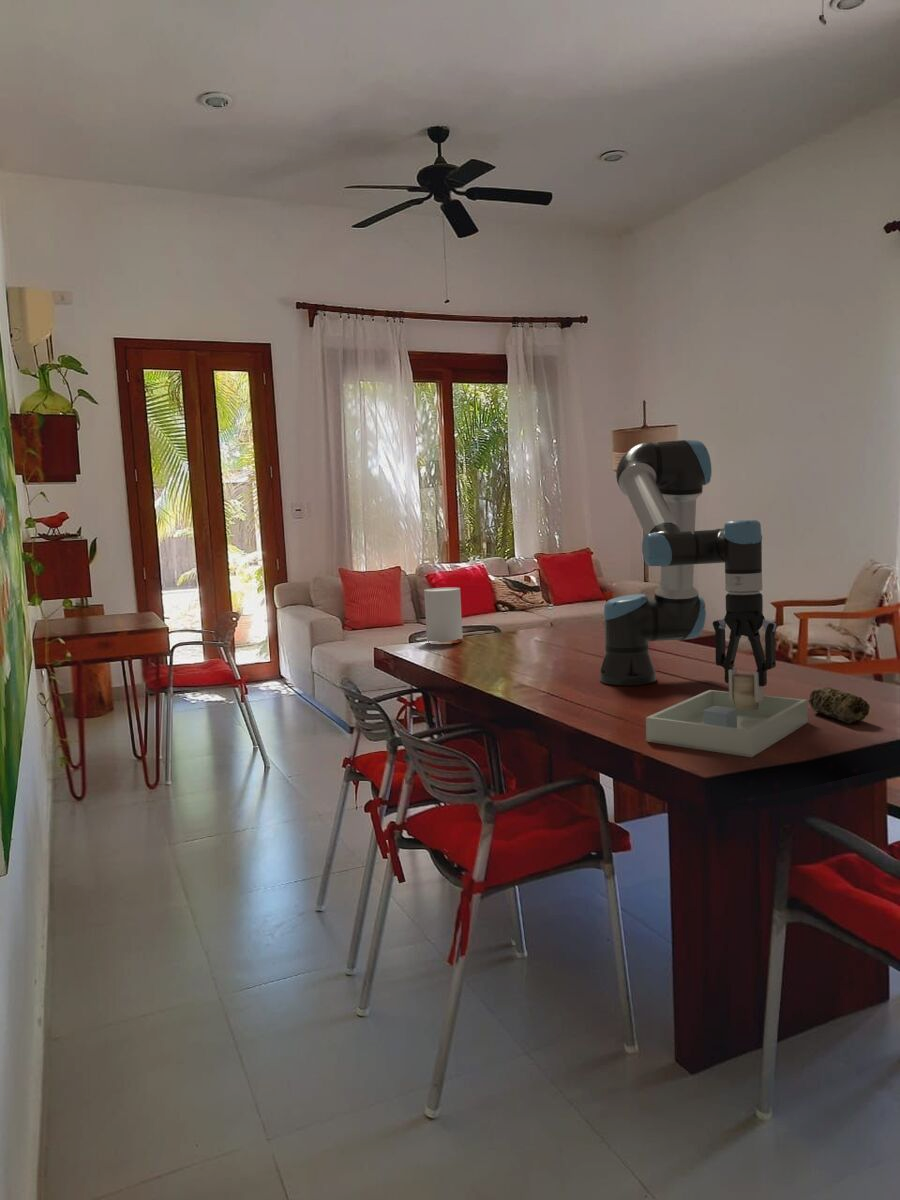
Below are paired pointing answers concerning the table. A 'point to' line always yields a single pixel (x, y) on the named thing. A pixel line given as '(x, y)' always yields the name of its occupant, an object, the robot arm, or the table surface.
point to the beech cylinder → (744, 692)
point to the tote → (746, 740)
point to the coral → (839, 705)
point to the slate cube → (720, 716)
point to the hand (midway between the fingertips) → (745, 699)
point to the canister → (443, 614)
